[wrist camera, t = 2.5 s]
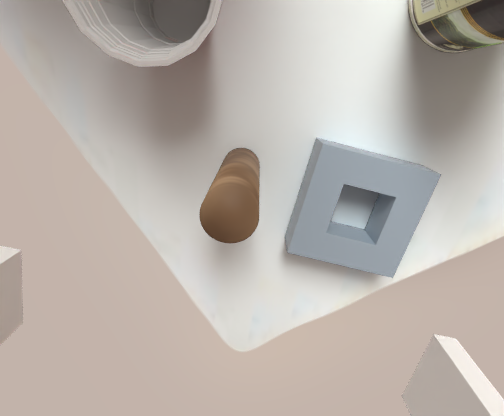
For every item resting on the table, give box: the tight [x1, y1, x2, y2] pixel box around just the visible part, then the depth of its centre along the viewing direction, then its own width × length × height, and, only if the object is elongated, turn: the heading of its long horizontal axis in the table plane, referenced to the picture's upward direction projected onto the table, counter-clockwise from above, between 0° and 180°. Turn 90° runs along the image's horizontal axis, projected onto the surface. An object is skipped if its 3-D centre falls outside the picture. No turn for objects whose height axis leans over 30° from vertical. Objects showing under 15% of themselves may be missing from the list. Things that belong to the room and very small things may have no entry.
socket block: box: [285, 138, 441, 278], centre depth 35 cm, size 12×12×4 cm
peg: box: [200, 148, 260, 243], centre depth 29 cm, size 4×4×15 cm
